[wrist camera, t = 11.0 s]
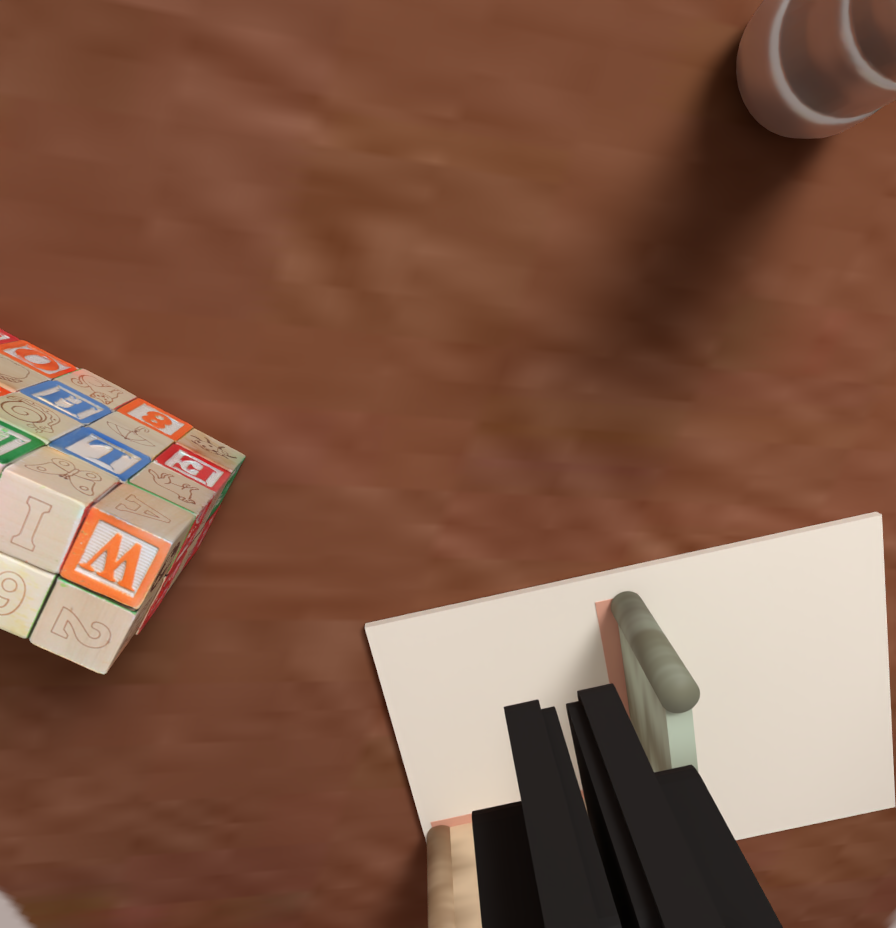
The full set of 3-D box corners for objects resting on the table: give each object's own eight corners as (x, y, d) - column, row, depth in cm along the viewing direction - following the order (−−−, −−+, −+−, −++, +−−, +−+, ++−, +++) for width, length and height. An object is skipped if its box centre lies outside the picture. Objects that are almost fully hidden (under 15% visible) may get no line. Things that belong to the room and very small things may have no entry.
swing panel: (662, 773, 43) (718, 893, 35) (632, 778, 43) (682, 900, 35) (641, 588, 39) (698, 674, 31) (608, 594, 39) (657, 682, 31)
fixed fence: (662, 775, 43) (720, 899, 35) (667, 802, 44) (725, 929, 35) (423, 826, 43) (424, 960, 35) (430, 851, 44) (433, 989, 36)
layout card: (876, 511, 39) (882, 515, 39) (890, 800, 45) (895, 807, 44) (365, 623, 40) (364, 628, 39) (443, 894, 46) (443, 901, 45)
